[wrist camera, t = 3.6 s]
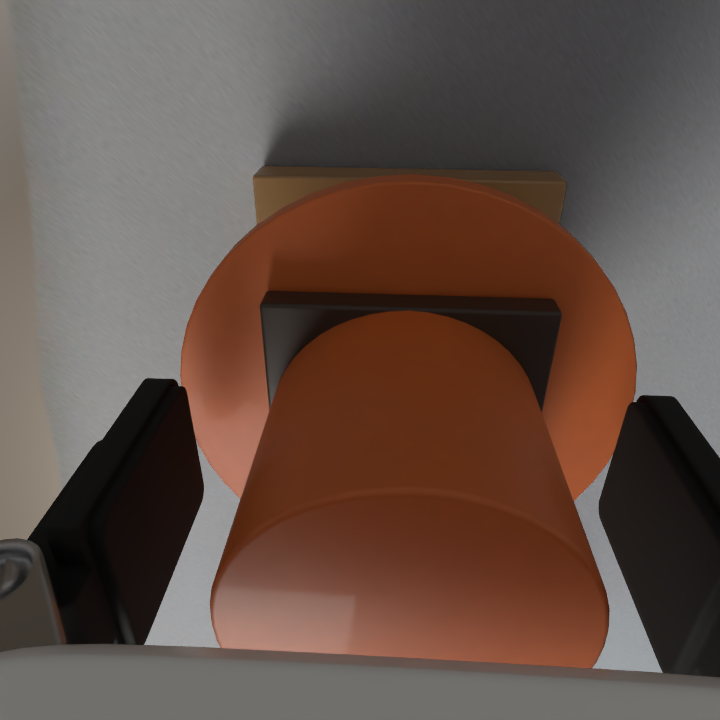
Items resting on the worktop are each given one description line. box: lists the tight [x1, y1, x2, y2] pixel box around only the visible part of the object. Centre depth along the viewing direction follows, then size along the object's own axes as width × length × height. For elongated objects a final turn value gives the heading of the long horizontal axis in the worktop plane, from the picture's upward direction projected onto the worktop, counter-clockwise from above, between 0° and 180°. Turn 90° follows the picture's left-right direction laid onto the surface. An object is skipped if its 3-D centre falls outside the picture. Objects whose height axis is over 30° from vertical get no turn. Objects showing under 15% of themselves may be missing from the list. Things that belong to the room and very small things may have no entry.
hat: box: [181, 174, 637, 668], centre depth 11 cm, size 10×10×6 cm
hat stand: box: [253, 166, 567, 224], centre depth 15 cm, size 8×8×5 cm
